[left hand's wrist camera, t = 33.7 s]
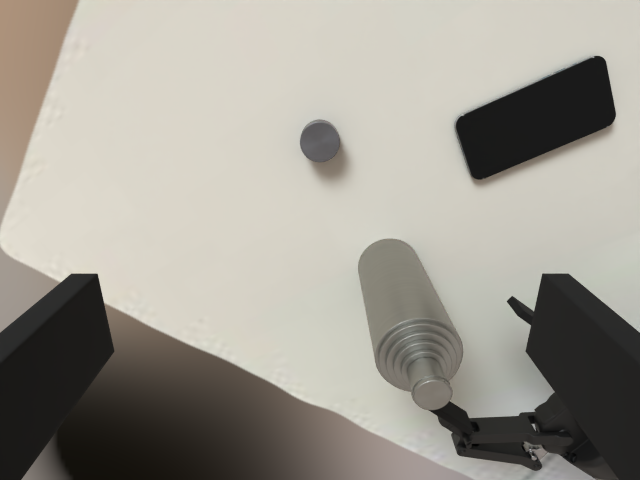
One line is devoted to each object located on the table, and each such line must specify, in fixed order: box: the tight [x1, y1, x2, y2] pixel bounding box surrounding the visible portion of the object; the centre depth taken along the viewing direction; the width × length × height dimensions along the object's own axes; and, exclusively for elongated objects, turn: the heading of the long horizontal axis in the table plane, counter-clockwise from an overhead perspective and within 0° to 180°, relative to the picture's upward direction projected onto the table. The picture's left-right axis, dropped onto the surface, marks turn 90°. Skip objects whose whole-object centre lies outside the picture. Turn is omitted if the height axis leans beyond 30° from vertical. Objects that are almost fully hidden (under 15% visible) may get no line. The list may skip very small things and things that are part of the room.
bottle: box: [358, 239, 463, 410], centre depth 40 cm, size 7×7×21 cm
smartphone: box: [454, 56, 616, 179], centre depth 43 cm, size 7×1×15 cm
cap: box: [300, 120, 340, 162], centre depth 44 cm, size 4×4×2 cm
